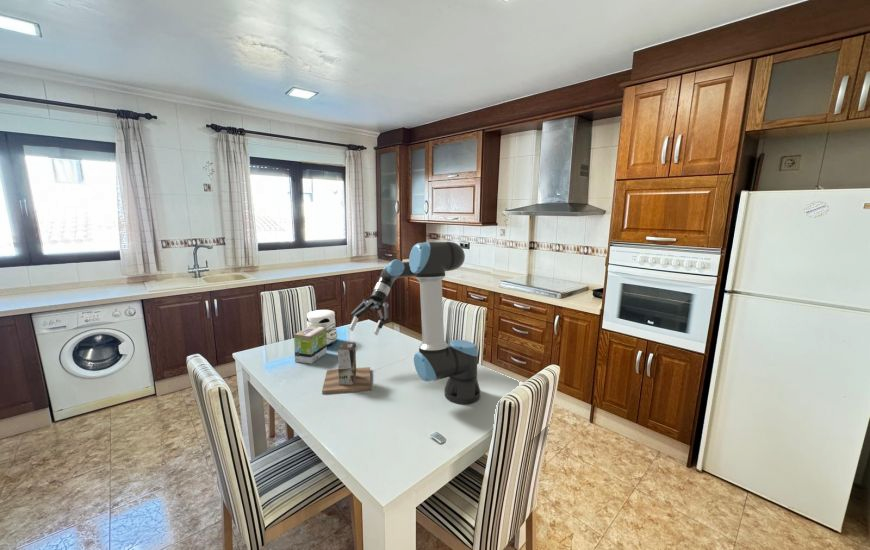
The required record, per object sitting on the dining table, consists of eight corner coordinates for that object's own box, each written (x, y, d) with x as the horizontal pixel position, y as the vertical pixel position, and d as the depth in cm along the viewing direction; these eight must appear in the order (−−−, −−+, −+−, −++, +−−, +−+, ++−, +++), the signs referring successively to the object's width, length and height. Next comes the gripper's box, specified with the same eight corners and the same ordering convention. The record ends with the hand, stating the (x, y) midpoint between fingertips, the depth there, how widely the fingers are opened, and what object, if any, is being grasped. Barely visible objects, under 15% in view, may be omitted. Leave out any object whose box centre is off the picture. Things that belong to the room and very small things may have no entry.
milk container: (337, 347, 199) (336, 316, 196) (305, 350, 194) (303, 318, 191) (337, 337, 215) (336, 308, 212) (307, 339, 210) (305, 310, 207)
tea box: (312, 364, 176) (311, 336, 174) (294, 362, 178) (292, 334, 176) (327, 352, 191) (326, 326, 188) (310, 351, 193) (309, 325, 190)
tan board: (370, 390, 152) (370, 387, 151) (322, 393, 148) (322, 390, 148) (370, 370, 171) (370, 367, 171) (327, 372, 167) (327, 369, 167)
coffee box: (353, 384, 153) (352, 349, 150) (338, 384, 153) (337, 349, 150) (356, 375, 162) (356, 341, 159) (342, 375, 162) (341, 341, 159)
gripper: (404, 300, 173) (389, 339, 162) (362, 295, 182) (344, 331, 171) (399, 292, 167) (382, 331, 156) (355, 287, 177) (337, 324, 166)
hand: (362, 331), depth 164 cm, fingers open, 13 cm apart
